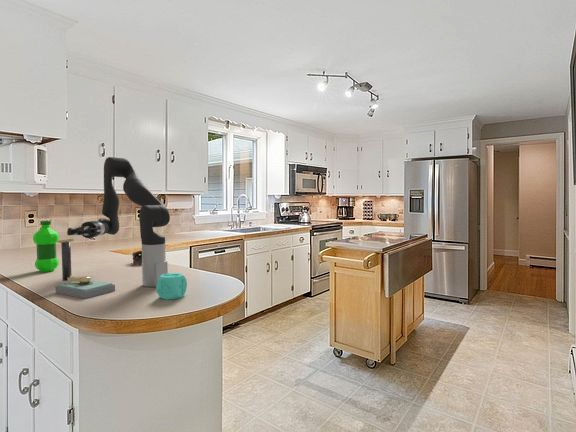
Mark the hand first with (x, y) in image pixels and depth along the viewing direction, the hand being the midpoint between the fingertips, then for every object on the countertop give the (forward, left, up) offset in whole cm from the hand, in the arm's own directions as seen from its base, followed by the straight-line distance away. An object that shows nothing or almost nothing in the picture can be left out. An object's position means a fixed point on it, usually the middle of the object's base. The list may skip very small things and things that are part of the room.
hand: (73, 232), depth 142 cm
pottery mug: (+17, -47, -22) cm, 55 cm away
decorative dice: (-48, -6, -22) cm, 53 cm away
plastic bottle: (+42, -12, -22) cm, 49 cm away
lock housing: (-13, +4, -22) cm, 26 cm away
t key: (-8, +5, -18) cm, 21 cm away
